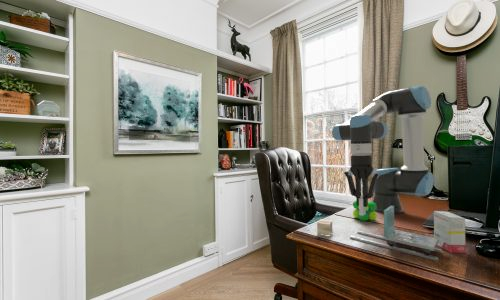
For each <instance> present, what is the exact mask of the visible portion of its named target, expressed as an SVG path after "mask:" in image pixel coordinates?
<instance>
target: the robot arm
mask: <svg viewBox="0 0 500 300" xmlns="http://www.w3.org/2000/svg"><path fill="white" fill-rule="evenodd" d="M431 105H432V98H431V94H430V93H429V90H428V89H427V88H426V86H424V85H416V86H410V87H404V88H400V89H394V90H390V91H387V92H384V93H382V94H381V95H379V96H378V97H376V98H374V99H372V100H371V101H369V104H368V105H367V106H366V107H364V109H362V110H361V111H359V112H358V113H356V114H355V115H352V116H350V118H349V119H348V120H346V121H345V122H344V123H342V124H335V125H334V126H333V127H332V130H331V134H332V137H333V139H334V140H335V141H341V142H343V141H350V154H351V155H350V167H349V170H347V171H344V175H345V178H346V179H347V183H348V187H349V191H350V195H351V197H352V196H353V197H355V198H356V200H357V206H359V215H362V216H363V215H365V214H366V207H367V206H368V201H369V199H370V198H372V197H373V198H372V201H371V202H374V203H375V204H376V206H377V208H376V210H375V211H374V212H379V213H384V210H385V209H387V208H388V207H390V206H394V214H400V213H403V211H404V210H403V205H402V202H401V200H400V196H399V194H406V195H411V196H413V195H414V196H423V197H425V196H428V195H429V194H431V191H432V189H433V187H434V180H435V177H434V174H433V172H429V168H428V166H426V165H425V149H424V128H423V127H424V123H423V121H424V120H423V117H424V116H425V115H426V114H427V110H428V109H430V108H431ZM395 113H397V116H398V117H399V118H400V119H401V132H402V154H403V157H402V158H403V159H402V160H403V165H402V166H401V167H400V168H399V167H389V168H386V167H385V168H379V169H378V168H377V169H375V168H374V167H373V156H372V153H373V149H372V145H373V144H372V143H373V142H372V140H381V139H383V138H385V137H386V136H387V134H388V132H389V129H388V125H387V124H386V123H385V122H384V121H381V120H380V121H379V120H377V118H380V117H382V116H384V115H388V114H395ZM374 169H375V170H374ZM352 175H353V176H354V179H353V176H352ZM370 176H371V177H372V178H371V181H370V185H369V178H370ZM356 200H355V201H356Z"/></svg>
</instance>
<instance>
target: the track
mask: <svg viewBox="0 0 500 300" xmlns="http://www.w3.org/2000/svg"><path fill="white" fill-rule="evenodd" d="M356 231H357V232H356V233H357V234H359V235H363V236H364V235H365V236H369V237H373V238H376V239H381V240H385V239H384V235H380V234H375V233H370V232H366V231H362V230H356ZM350 238H351V239H352V240H354V239H355V240H354V241H358V240H359V241H360V242H362V241H363V243H366V244H370V245H374V246H379V247H381V246H382V248H386V249H390V250H393V251H397V252H401V253H406V254H409V255H414V256H418V257H421V258H425V259H429V260H432V261H436V262H438V261H439V257H438V256H435V255H431V254H430V255H425V254H423V252H419V251H414V250H410V249H406V248H402V247H397V246H395V245H394V246H389V245H388V244H385V243H382V242H378V241H375V240H370V239H366V238H363V237H362V238H361V237H358V236H353V235H350V236H349V239H350ZM396 243H397V244H399V243H398V242H396ZM400 244H402V243H400ZM402 245H403V244H402ZM405 245H406V246H408V245H407V244H405ZM409 246H411V245H409ZM411 247H412V246H411ZM413 247H415V246H413ZM417 248H419V247H417ZM419 249H420V248H419ZM422 249H423V248H421V250H422ZM431 252H435V253H442V249H440V248H437V247H436V248H435V250H434V251H432V250H431Z"/></svg>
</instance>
